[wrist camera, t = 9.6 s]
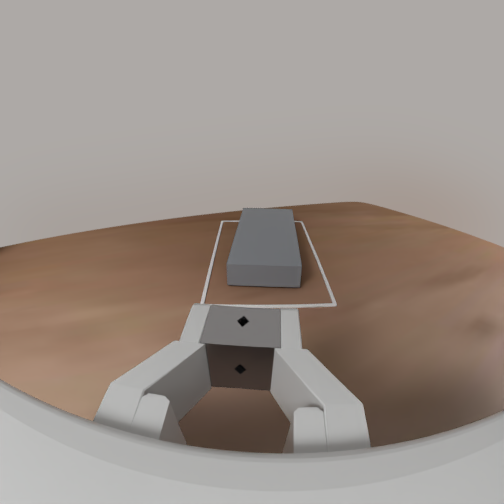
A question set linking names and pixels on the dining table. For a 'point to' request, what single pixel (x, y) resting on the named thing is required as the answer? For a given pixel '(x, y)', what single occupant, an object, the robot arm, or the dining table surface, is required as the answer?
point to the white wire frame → (271, 305)
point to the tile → (265, 250)
